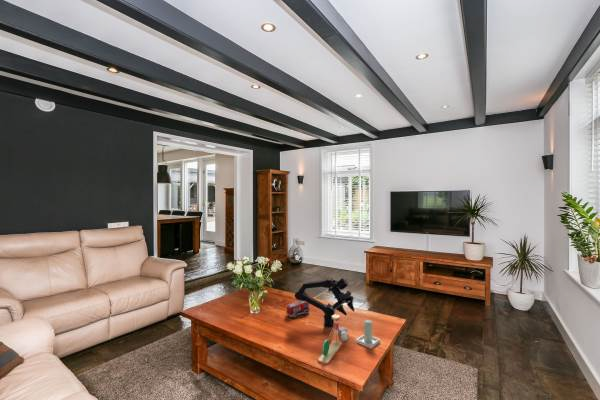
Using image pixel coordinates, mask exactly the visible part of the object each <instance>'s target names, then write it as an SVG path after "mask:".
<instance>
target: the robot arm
mask: <svg viewBox="0 0 600 400" xmlns="http://www.w3.org/2000/svg"><path fill="white" fill-rule="evenodd" d="M347 287H349V283H348V281H347V280H346V279H344V277H341V278H340V279H339V280H335V279H333V278H332V277H327V278H324V279H322V280H316V281H308V282H304V283H302V285H301V287H300V288H299V289H298V290H296V292H295V293H294V298H295V300H298V301H306V302H307V303H309V305H310V306H311V305H312V306H313V307H315V308H317V309H319V310H321V311H322V312H323V313H324V314H323V327H324V328H333V326H334V322H335V321H334V320H333V319H332V315H334V314H336V311H338V312H340V313H341V314H343V315H344V316H348V314H347V312H346V310H345V308H344V306H343V305H344V304H346V305H347V307H348V308H349V309H350V310H351V311H352V312H355V307H354V299H355V298H354V296H353V295H352V292H351V291H350V290H347V291H346V292H345V293H344V291H343V290H344V289H345V288H347ZM314 288H326V289H328V291H327V292H331V293H332V294H333V296H334V300H336V302H335V303H333V305H332V304H331V303H330V302H329V303H327V304H324V302H321V301H319V300H317V299H315V298H314V297H311V296H310V295H308V294H307V293H306V292H305V291H306V290H307V289H314ZM342 291H343V292H342Z"/></svg>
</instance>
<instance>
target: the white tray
mask: <svg viewBox="0 0 600 400" xmlns="http://www.w3.org/2000/svg"><path fill="white" fill-rule="evenodd" d="M355 342H356V343H357V344H360V345H362V346H364V347H367V348H369V349H373V348H374V347H375V346H377V345H379V344H380V343H381V338H379V337H376V336H374V335H372V343H365V342H364V334H362V335H361V336H359V337H358V338H356V340H355Z"/></svg>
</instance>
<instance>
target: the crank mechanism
mask: <svg viewBox="0 0 600 400" xmlns="http://www.w3.org/2000/svg"><path fill="white" fill-rule="evenodd" d="M332 319H333V320H335V321H334V325H333V327H331V332H330V334H329V336H328V337H327V338H328V339H325V340H324V342H323V345H322V354H321V355H320V356H319V357H318V358H317V362H318V363H319V364H322V365H324V366H325V365H326V366H327V365H330V363H331V362H332V360H333V359H334V358H335V356H336V354H337V353H338V352H339V351H340V350H341V348H342V347H343V341H342V342H341V341H339V340H338V339H337V338H338V334H337V333H338V327H339V320H340V319H341V315H340V314H336V313H335V314H334V315H332ZM334 330H335V340H332V341H331V343H330V341H329V340H330V338H331V335H332V333H333V331H334Z"/></svg>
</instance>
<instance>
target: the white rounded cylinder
mask: <svg viewBox="0 0 600 400" xmlns="http://www.w3.org/2000/svg"><path fill="white" fill-rule="evenodd" d="M348 335H349V333H348V331H347V332H346V331H342V332H341V336H340V340H341V341H342V342H347V341H348V338H349V337H348Z"/></svg>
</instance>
